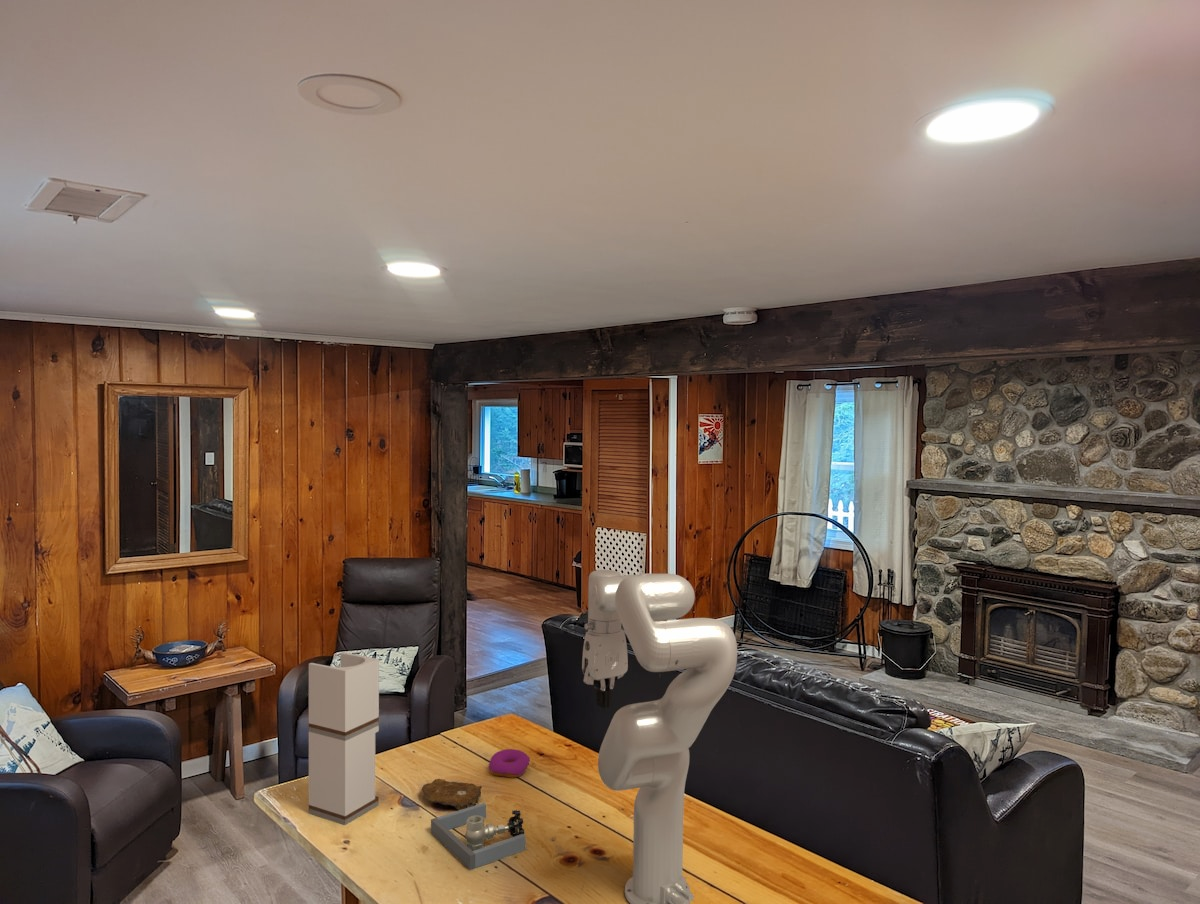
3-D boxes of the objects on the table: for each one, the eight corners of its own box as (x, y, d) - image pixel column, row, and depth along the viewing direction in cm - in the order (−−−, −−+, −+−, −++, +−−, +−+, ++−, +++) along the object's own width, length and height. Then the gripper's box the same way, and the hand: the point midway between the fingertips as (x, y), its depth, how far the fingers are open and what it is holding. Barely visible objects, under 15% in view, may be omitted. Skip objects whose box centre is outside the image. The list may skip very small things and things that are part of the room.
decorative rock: (409, 810, 186) (469, 819, 183) (410, 793, 185) (470, 802, 182) (429, 786, 197) (486, 794, 194) (430, 770, 196) (487, 778, 193)
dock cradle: (525, 849, 168) (525, 836, 167) (469, 870, 160) (470, 855, 159) (483, 815, 182) (483, 802, 182) (430, 832, 174) (430, 819, 174)
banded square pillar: (378, 805, 187) (378, 659, 186) (345, 825, 177) (345, 671, 176) (343, 794, 192) (343, 652, 191) (308, 813, 182) (308, 663, 181)
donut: (483, 777, 203) (483, 760, 202) (498, 761, 212) (498, 744, 212) (521, 782, 200) (521, 764, 200) (534, 765, 210) (534, 748, 210)
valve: (469, 859, 164) (524, 847, 169) (469, 828, 164) (524, 817, 168) (461, 844, 170) (515, 833, 175) (461, 814, 170) (515, 803, 174)
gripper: (587, 634, 170) (586, 718, 171) (640, 624, 179) (639, 704, 180) (567, 626, 176) (567, 708, 177) (620, 617, 185) (619, 695, 186)
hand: (603, 705), depth 178 cm, fingers closed
